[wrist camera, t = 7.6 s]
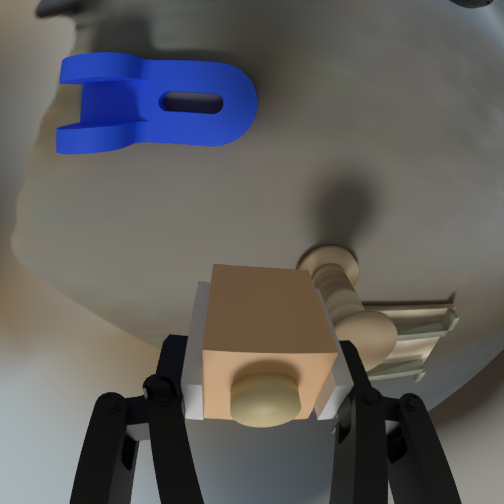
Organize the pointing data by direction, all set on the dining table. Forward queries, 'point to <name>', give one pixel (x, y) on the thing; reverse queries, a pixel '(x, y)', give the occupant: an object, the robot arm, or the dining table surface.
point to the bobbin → (349, 304)
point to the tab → (264, 345)
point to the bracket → (151, 102)
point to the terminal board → (413, 337)
